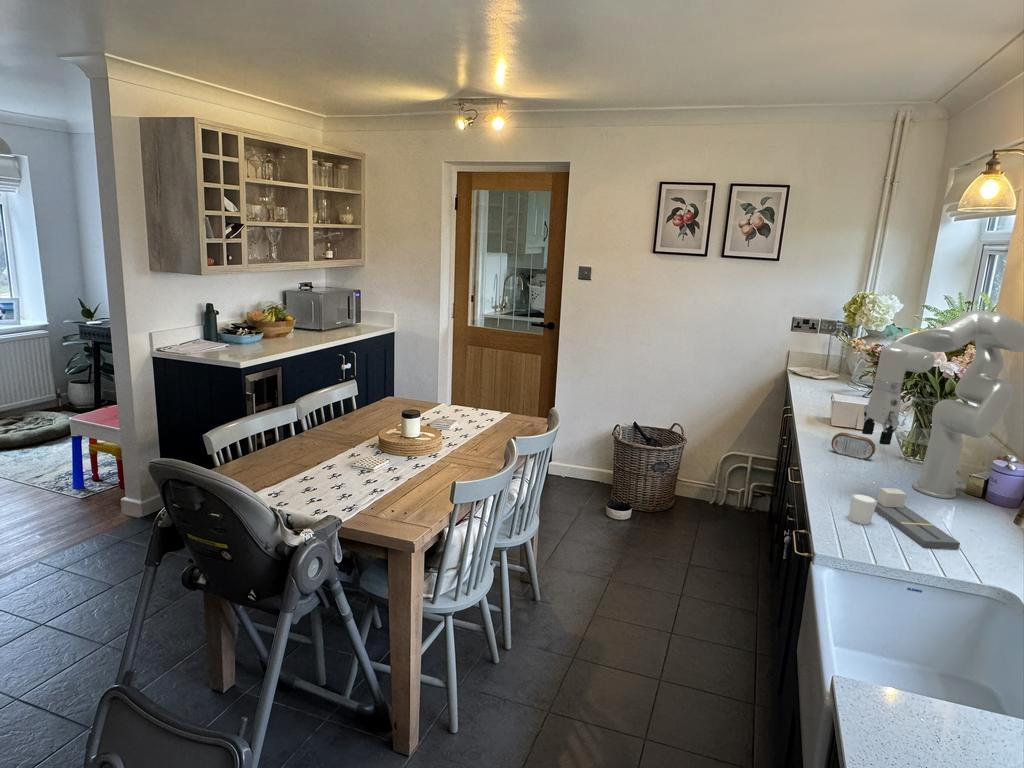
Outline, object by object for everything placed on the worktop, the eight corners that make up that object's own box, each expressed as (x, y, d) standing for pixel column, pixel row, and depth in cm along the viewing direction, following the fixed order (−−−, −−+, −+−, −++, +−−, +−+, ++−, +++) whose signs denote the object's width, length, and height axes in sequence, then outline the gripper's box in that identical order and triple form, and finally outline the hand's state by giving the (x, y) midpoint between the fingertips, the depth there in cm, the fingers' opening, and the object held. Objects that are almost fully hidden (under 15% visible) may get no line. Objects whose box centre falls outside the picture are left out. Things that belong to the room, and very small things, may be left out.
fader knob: (876, 501, 210) (880, 487, 209) (895, 502, 210) (898, 488, 209) (884, 506, 206) (887, 492, 205) (903, 507, 206) (906, 494, 205)
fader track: (865, 504, 212) (866, 498, 212) (895, 506, 213) (897, 500, 212) (923, 547, 185) (925, 540, 185) (958, 549, 186) (960, 542, 185)
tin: (872, 460, 257) (877, 439, 255) (872, 462, 254) (876, 441, 252) (830, 450, 264) (834, 429, 262) (828, 452, 262) (833, 431, 260)
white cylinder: (870, 518, 202) (875, 496, 200) (874, 527, 196) (879, 504, 194) (845, 513, 204) (850, 491, 202) (848, 522, 198) (853, 499, 196)
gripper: (916, 394, 201) (903, 449, 206) (883, 380, 218) (871, 431, 222) (892, 392, 201) (879, 447, 205) (860, 378, 218) (849, 429, 222)
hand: (875, 439), depth 214 cm, fingers open, 9 cm apart
